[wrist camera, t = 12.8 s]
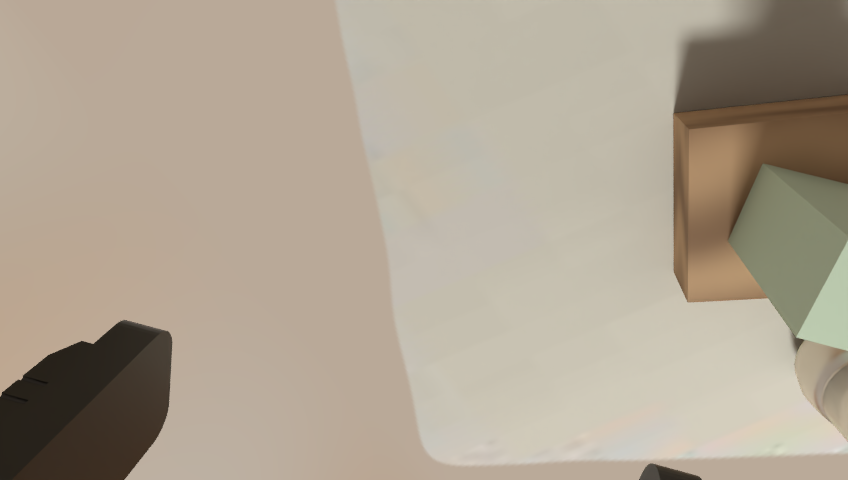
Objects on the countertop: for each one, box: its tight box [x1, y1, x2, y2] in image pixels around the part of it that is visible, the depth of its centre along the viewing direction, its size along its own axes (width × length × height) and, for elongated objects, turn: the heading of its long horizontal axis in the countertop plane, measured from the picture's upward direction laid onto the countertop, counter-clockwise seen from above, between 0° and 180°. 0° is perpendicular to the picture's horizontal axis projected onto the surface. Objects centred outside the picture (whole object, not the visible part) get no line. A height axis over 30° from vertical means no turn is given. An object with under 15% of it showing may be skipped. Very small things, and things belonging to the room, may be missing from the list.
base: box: [674, 95, 848, 302], centre depth 36 cm, size 10×10×4 cm
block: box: [728, 163, 848, 351], centre depth 30 cm, size 4×4×10 cm
